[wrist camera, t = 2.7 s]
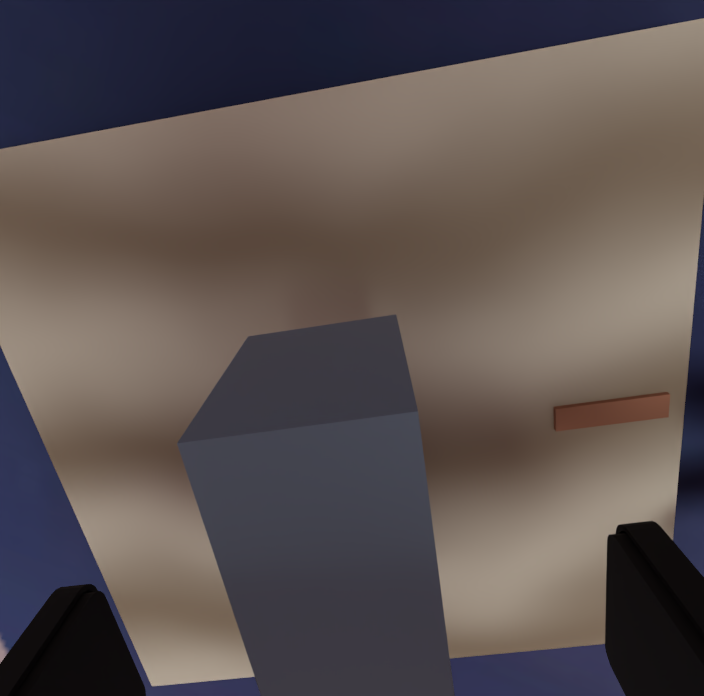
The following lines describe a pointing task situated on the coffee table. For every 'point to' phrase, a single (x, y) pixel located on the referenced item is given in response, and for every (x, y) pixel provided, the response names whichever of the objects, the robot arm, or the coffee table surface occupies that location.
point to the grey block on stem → (323, 513)
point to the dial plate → (376, 301)
